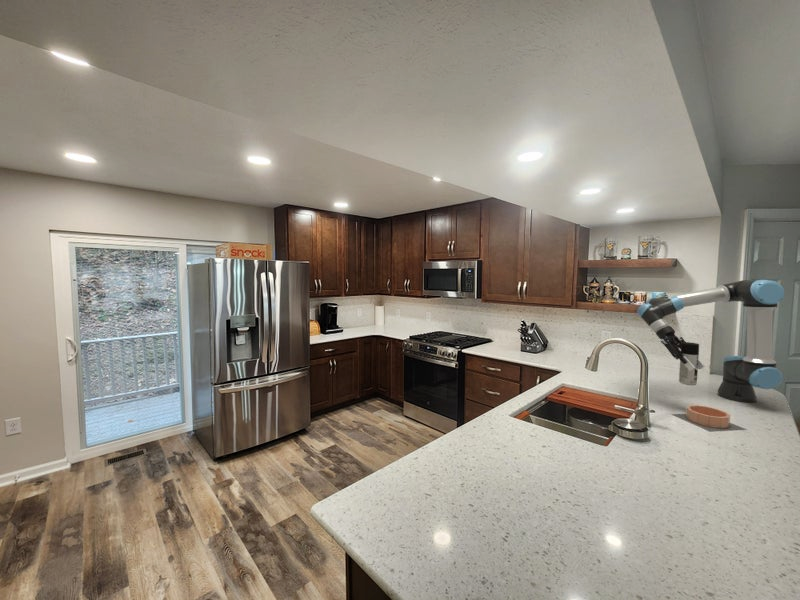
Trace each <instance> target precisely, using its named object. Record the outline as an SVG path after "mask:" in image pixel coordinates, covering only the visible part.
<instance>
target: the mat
mask: <svg viewBox="0 0 800 600" xmlns="http://www.w3.org/2000/svg"><path fill="white" fill-rule="evenodd" d="M670 415H671V416H674V417H675V418H677V419H680V420H683V421H685V422H687V423H689V424H691V425H694V426H696V427H698V428H700V429H702V430H706V431H708V432H728V431H730V432H731V431H748V429H747V428H745V427H742V426H740V425H737V424H735V423H732V422H730V425H729V427H728V428H724V429H721V428H712V427H707V426H703V425H699V424H696V423H694V422H692V421H690V420H688V419H687V416H686V413H671V414H670Z"/></svg>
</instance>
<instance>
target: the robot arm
mask: <svg viewBox="0 0 800 600" xmlns="http://www.w3.org/2000/svg"><path fill="white" fill-rule="evenodd" d="M784 297H785V289H784V287H783V286H782V285H781V284H780V283H778V282H777V281H774V280H770V279H743V280H739V281H735V282H734V281H733V282H729V283H724V284H719V285H718V286H717V287H712V288H708V289H702V290H695V291H689V292H682V293H678V294H673V295H667V296H661V297H650V298H648V299H647V301H645V303H644V304H641V305H640V306H638V308H637V309H636V312H637V314H638V315H639V317H640V318H641V319H642V320H643V321H644V323H646V325H648V327H650V330H651V331H653V332H654V333H655V335H656V337H657V338H659V340H660V343H662V345H663V346H664V347H665V348H666V349H667V350H668V352H669V353H670V355H671V356H672V357H673V358H674V359H675V360H679V361H680V360H681V362H682V363H683V364H684V365H685V366H686V367H687V368H688V370H689V371H691V370H692V369H694V368H695V367H694V366H693V364H692V363H691V362H690V361H689V360H688V359H687V358H686V357H685V356H683V355H682V353H681V343H682V342H686V340H684V338H683V337H681V336H680V337H678V336H677V335H676V330H675V329H674V328H673V327H672V326H671V325H670V324H669V322H668V321H667V320H666V319H665V318H664V317H667V316H669V315H671V314H674V313H677V312H679V311H681V310H682V309H684V308H686V307H692V306H698V305H705V304H712V303H717V302H723V303H729V302H739V303H741V302H742V306H743V308H744V309H746V312H747V313H746V314H747V317H746V319H747V320H746V356H744V355H743V356H741V355H726V356H724V358H723V361H722V362H723V368H722V369H723V371H722V381H721V383H720V385H719V387H718V389H717V395H718V396H719V397H721V398H724V399H727V400H731V401H735V402H742V403H756V402H757V400H758V397H757V394H756V392H755V388H759V389H763V390H772V389H774V388H777V387H778V386H779V385H781V383H782V382H783V380H784V378H783V377H784V376H783V374H782V372H781V371H780V370H779V369H778V368H777V361H776V360H774V359H773V358H772V357H773V315H774V314H773V311H775V309H777V308H778V304H779V303H780V302H781V301H782V300H783V299H784ZM705 367H706V365H705V364H704V363H703V362H702V361H701V360H700V358H698V370H702V369H703V368H705Z"/></svg>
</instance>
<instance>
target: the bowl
mask: <svg viewBox="0 0 800 600" xmlns="http://www.w3.org/2000/svg"><path fill="white" fill-rule="evenodd" d="M685 414H686V416H687V419H688V420H690V421H692V422H694V423H696V424H699V425H703V426H707V427H712V428H721V429H724V428H728V427H729V425H730V423H731V421H730V420H731V414H730V413H728V412H727V411H724V410H721V409H719V408H715V407H711V406H706V405H698V404H696V405H695V404H694V405H693V404H692V405H687V406H686V411H685Z"/></svg>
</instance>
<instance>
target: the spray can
mask: <svg viewBox="0 0 800 600" xmlns="http://www.w3.org/2000/svg"><path fill="white" fill-rule="evenodd" d="M680 351H681V353H682V355H683V356H685V357H686V358H687V359H688V360H689V361H690V362H691V363H692V364H693V366H694V367H695V368H694V369H692V370H691V371H689V370H688V368H687V367H686V366H685V365H684V364H683V363H682V362H681V360H680V359H679V373H678V382H679V383H680V384H681V385H686V386H696V385H698V374H699V373H698V371H699V369H698V359H700V357H699V356H700V344H699V343H697V342H689V341H688V342H687V341H685V342H682V343H681V349H680Z"/></svg>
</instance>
